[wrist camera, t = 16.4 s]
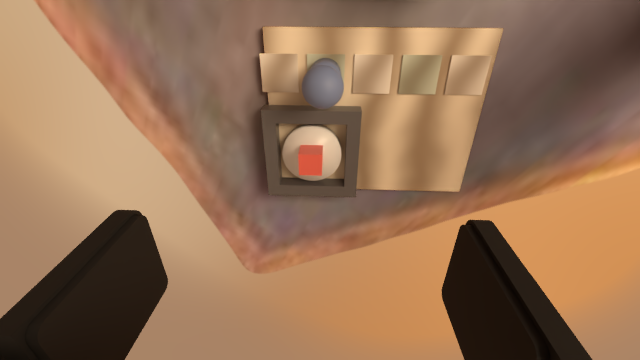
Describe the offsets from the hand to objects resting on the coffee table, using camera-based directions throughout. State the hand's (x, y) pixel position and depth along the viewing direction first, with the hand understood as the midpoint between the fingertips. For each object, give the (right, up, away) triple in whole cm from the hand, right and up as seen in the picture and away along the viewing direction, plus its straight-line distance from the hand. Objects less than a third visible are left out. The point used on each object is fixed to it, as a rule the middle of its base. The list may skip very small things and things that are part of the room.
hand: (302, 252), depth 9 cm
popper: (0, +6, +28) cm, 29 cm away
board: (+7, +10, +27) cm, 29 cm away
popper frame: (0, +6, +28) cm, 29 cm away
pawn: (+1, +14, +24) cm, 27 cm away
